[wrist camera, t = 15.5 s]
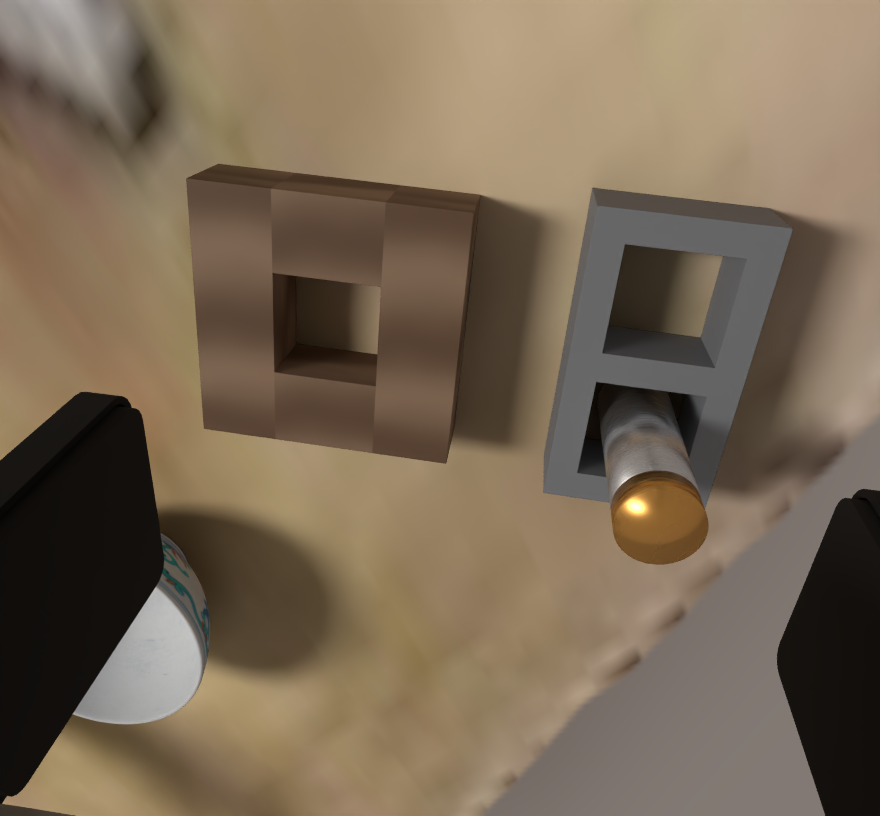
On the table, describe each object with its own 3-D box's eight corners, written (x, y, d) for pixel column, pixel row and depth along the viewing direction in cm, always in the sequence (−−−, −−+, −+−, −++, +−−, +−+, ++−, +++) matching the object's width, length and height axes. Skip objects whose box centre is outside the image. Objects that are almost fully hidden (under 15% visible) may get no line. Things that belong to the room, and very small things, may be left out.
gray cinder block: (592, 188, 38) (596, 205, 34) (770, 208, 37) (793, 228, 34) (543, 456, 45) (543, 492, 42) (690, 476, 45) (702, 516, 41)
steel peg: (604, 365, 42) (623, 483, 32) (676, 375, 42) (719, 497, 31) (591, 427, 44) (605, 557, 34) (660, 436, 44) (695, 570, 33)
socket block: (218, 163, 40) (186, 178, 36) (480, 194, 39) (473, 212, 35) (230, 397, 46) (203, 428, 43) (454, 428, 45) (446, 463, 42)
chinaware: (2, 525, 54) (-77, 599, 47) (148, 439, 49) (84, 508, 42) (141, 664, 59) (88, 748, 52) (287, 599, 54) (250, 684, 47)
